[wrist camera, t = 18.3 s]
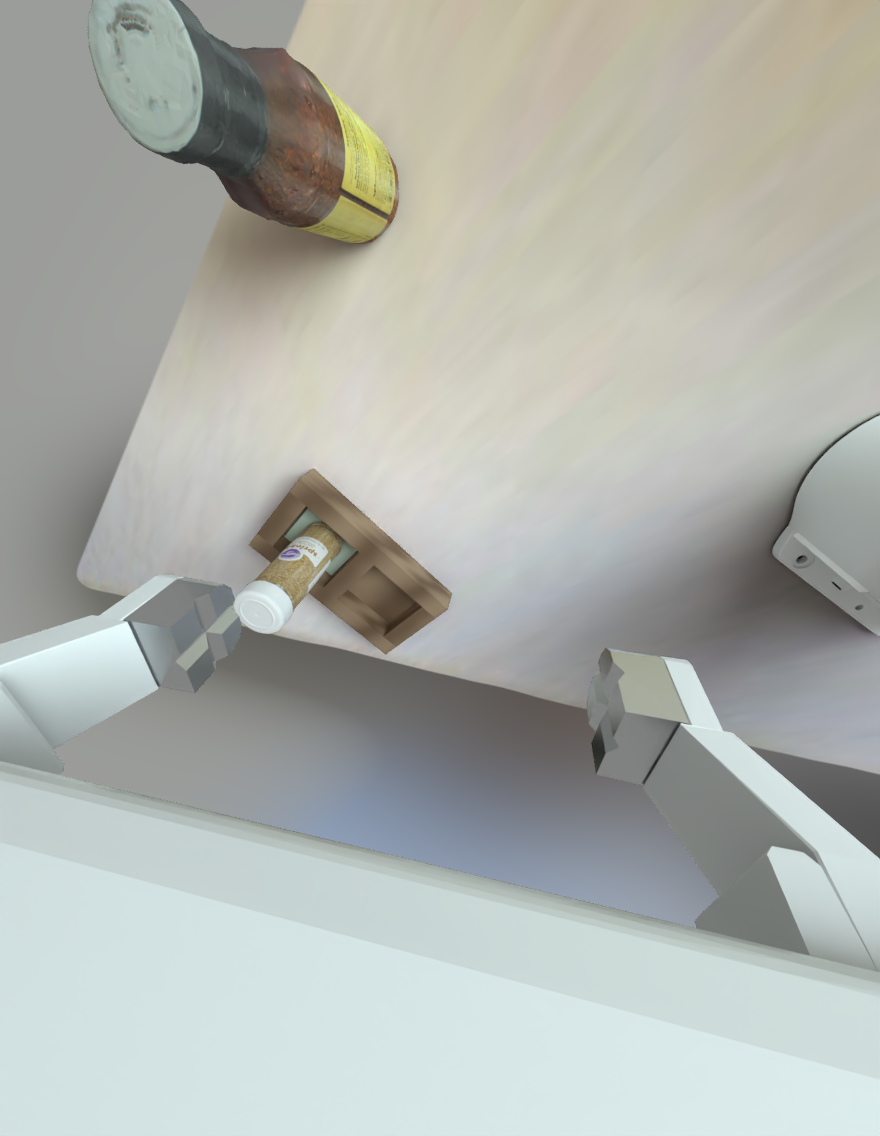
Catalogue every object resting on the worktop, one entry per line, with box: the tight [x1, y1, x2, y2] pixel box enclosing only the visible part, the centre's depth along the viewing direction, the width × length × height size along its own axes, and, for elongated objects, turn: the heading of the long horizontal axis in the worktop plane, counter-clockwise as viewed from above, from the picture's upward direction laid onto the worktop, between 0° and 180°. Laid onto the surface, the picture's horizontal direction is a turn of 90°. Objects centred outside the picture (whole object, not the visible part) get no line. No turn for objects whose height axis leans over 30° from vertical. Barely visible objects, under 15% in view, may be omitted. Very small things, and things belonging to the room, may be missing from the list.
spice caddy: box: [249, 469, 452, 654], centre depth 46 cm, size 20×11×3 cm, turn 47°
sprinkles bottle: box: [233, 522, 342, 634], centre depth 40 cm, size 5×5×13 cm
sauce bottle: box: [88, 0, 399, 243], centre depth 21 cm, size 6×6×20 cm
